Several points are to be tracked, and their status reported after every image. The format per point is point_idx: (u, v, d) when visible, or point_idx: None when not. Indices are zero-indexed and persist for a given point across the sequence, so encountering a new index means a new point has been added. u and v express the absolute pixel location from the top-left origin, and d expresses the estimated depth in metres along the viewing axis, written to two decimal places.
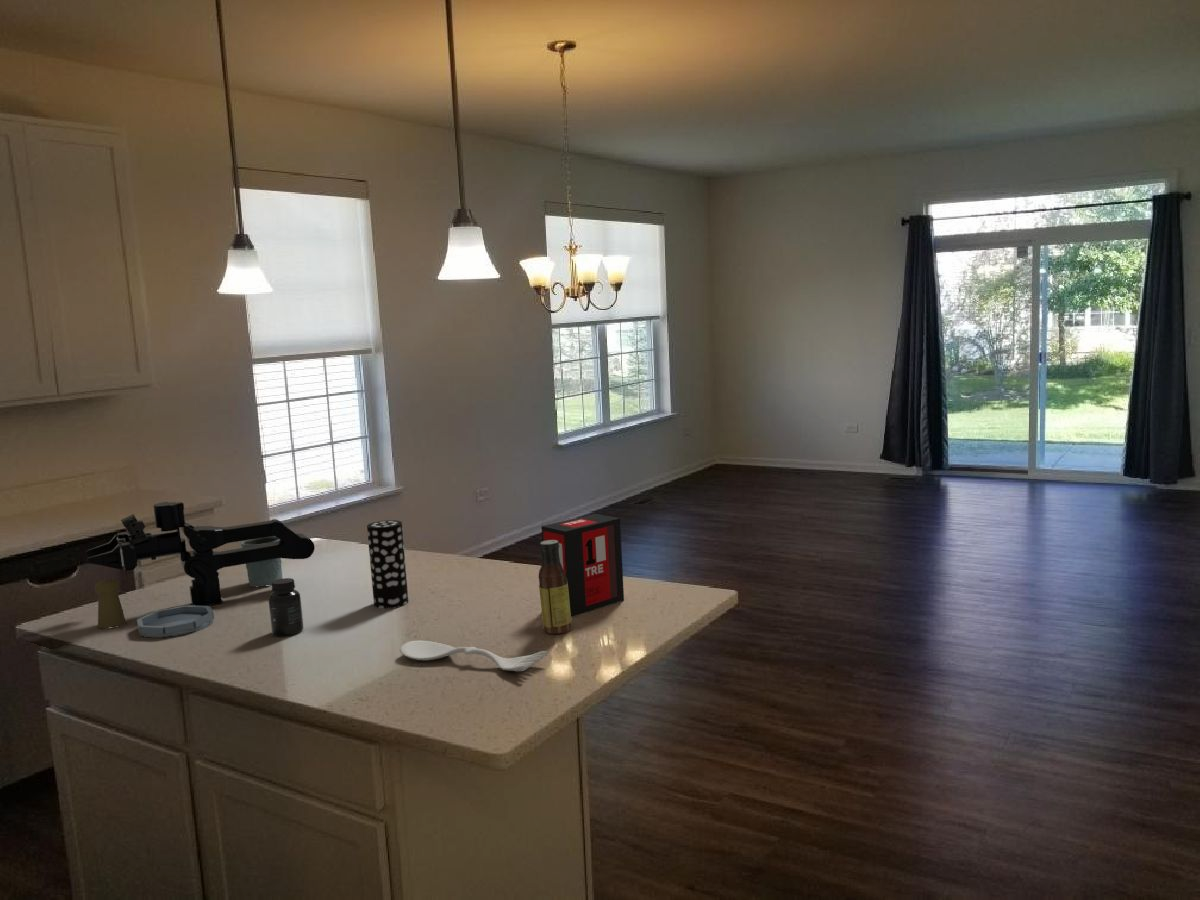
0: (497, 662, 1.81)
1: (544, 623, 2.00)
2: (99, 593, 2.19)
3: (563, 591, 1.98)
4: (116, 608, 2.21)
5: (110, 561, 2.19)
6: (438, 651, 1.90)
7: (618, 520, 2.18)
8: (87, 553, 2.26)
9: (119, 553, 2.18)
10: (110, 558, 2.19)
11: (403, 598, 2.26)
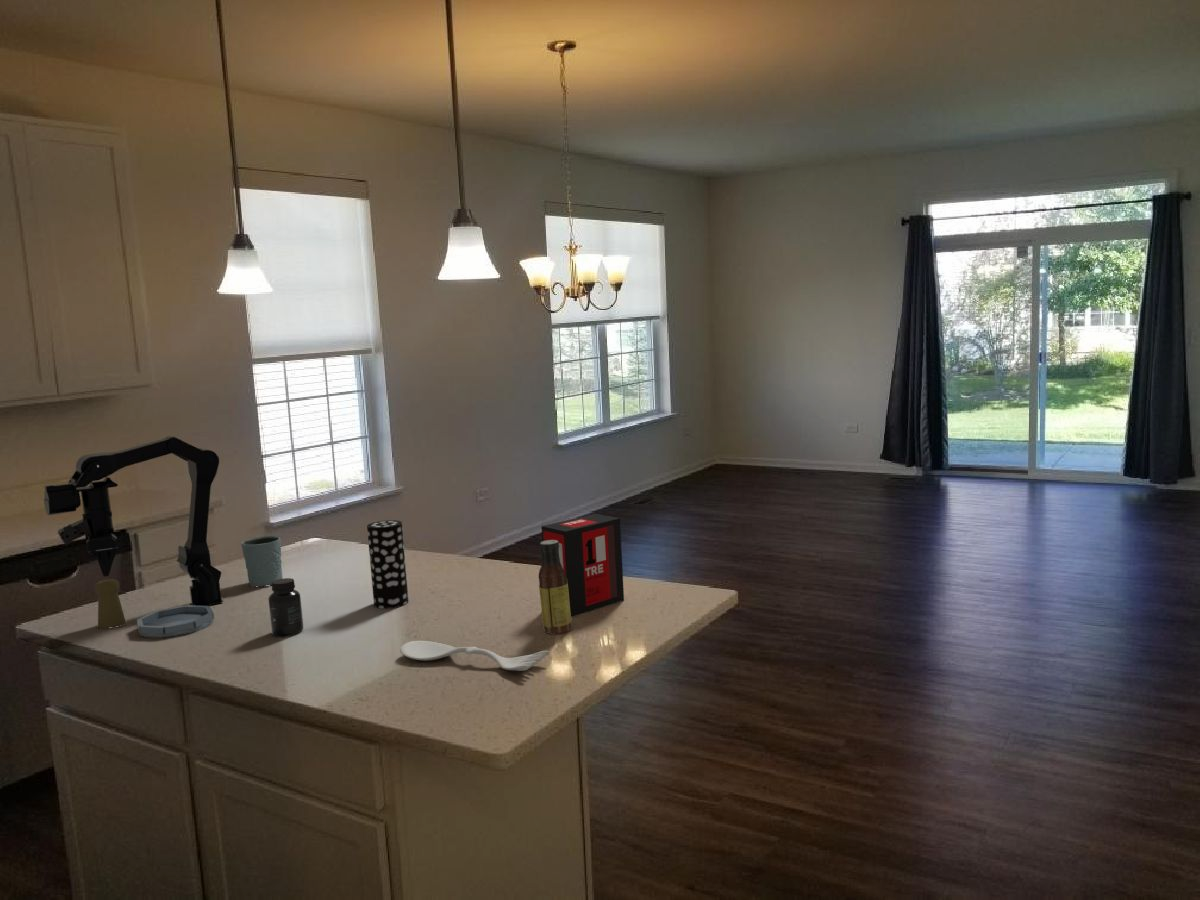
0: (498, 662, 1.81)
1: (544, 623, 2.00)
2: (99, 593, 2.19)
3: (563, 591, 1.98)
4: (116, 608, 2.21)
5: (107, 557, 2.16)
6: (438, 651, 1.90)
7: (618, 520, 2.18)
8: None
9: (97, 551, 2.12)
10: (104, 557, 2.15)
11: (403, 598, 2.26)
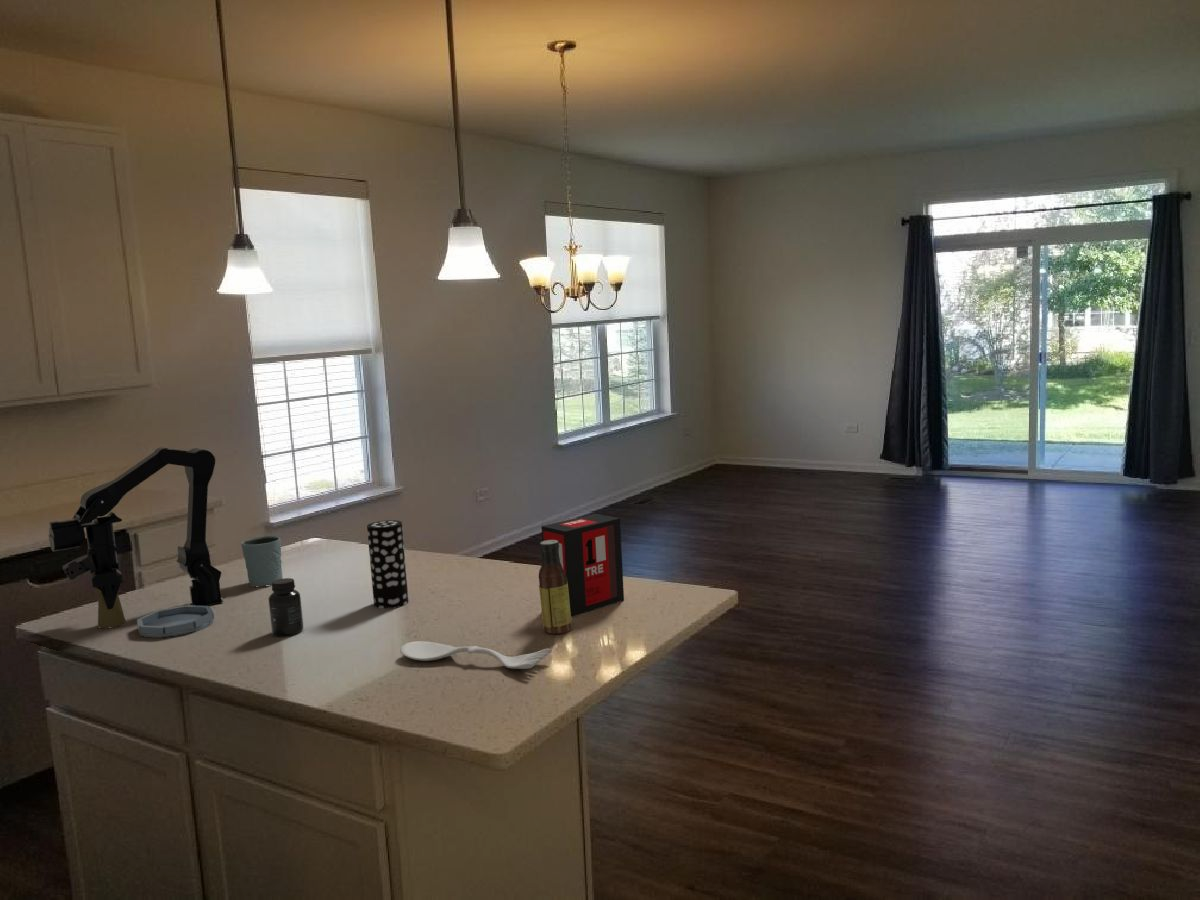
0: (501, 660, 1.81)
1: (544, 623, 2.00)
2: (99, 593, 2.19)
3: (563, 591, 1.98)
4: (116, 608, 2.21)
5: (112, 590, 2.19)
6: (439, 651, 1.90)
7: (618, 520, 2.18)
8: None
9: (101, 585, 2.15)
10: (108, 590, 2.18)
11: (403, 598, 2.26)
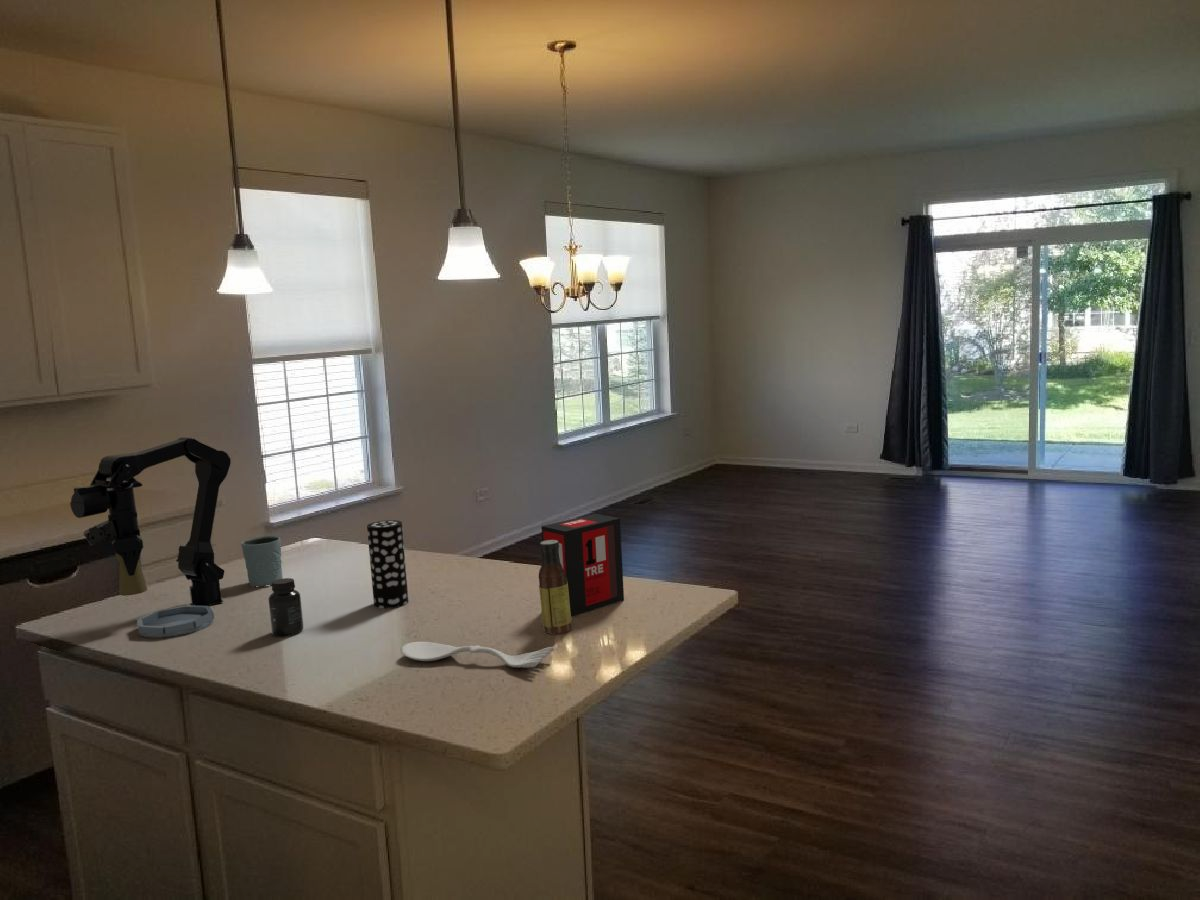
0: (504, 659, 1.82)
1: (544, 623, 2.00)
2: (120, 559, 2.16)
3: (563, 591, 1.98)
4: (137, 574, 2.18)
5: (133, 556, 2.16)
6: (440, 651, 1.90)
7: (618, 520, 2.18)
8: None
9: None
10: (129, 556, 2.16)
11: (403, 598, 2.26)
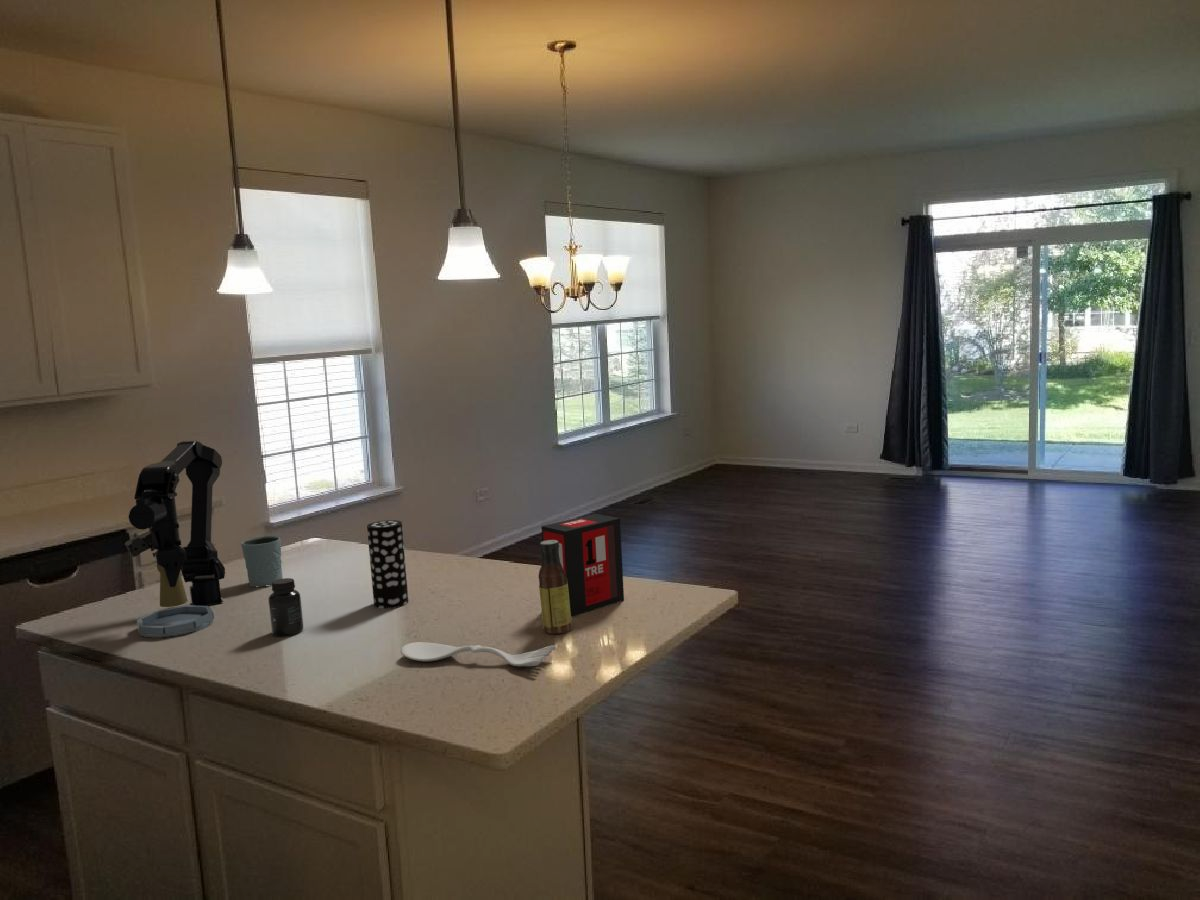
0: (506, 659, 1.82)
1: (544, 623, 2.00)
2: (161, 570, 2.14)
3: (563, 591, 1.98)
4: (178, 586, 2.16)
5: (175, 567, 2.14)
6: (440, 651, 1.89)
7: (618, 520, 2.18)
8: None
9: (165, 562, 2.11)
10: (171, 567, 2.14)
11: (403, 598, 2.26)
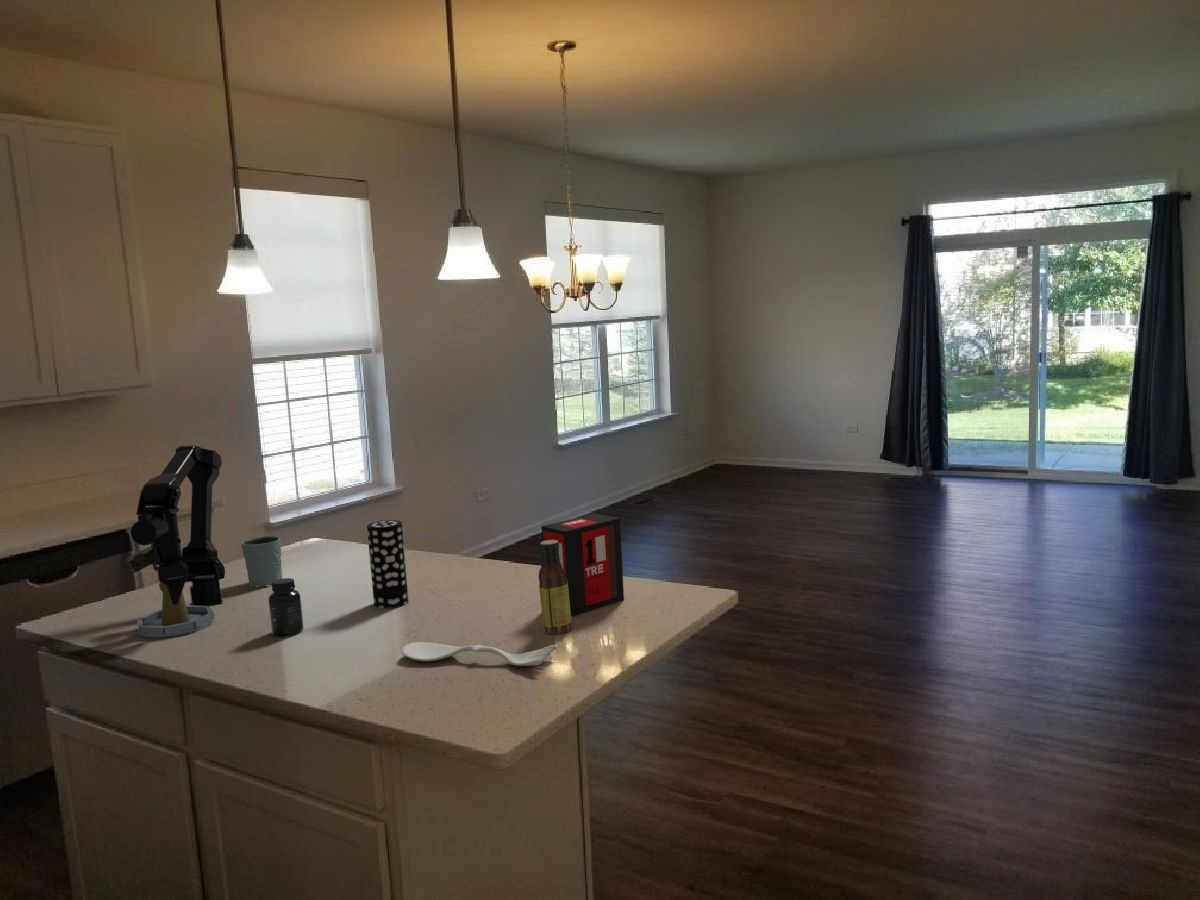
0: (507, 658, 1.82)
1: (544, 623, 2.00)
2: (164, 590, 2.15)
3: (563, 591, 1.98)
4: (180, 605, 2.17)
5: (177, 585, 2.13)
6: (441, 651, 1.89)
7: (618, 520, 2.18)
8: None
9: (168, 580, 2.09)
10: (174, 585, 2.12)
11: (403, 598, 2.26)
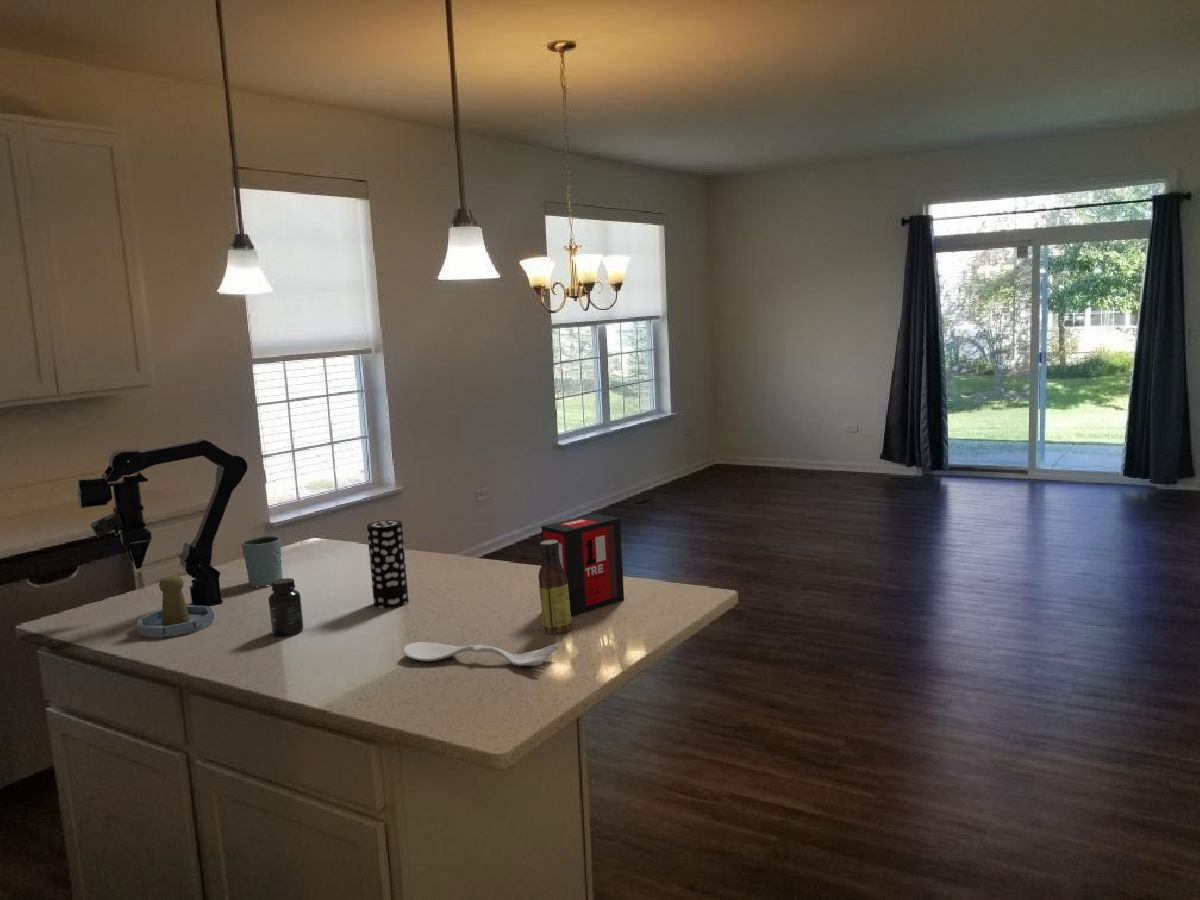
0: (508, 658, 1.82)
1: (544, 623, 2.00)
2: (164, 590, 2.15)
3: (563, 591, 1.98)
4: (180, 605, 2.17)
5: (140, 549, 2.21)
6: (442, 651, 1.89)
7: (618, 520, 2.18)
8: None
9: (131, 544, 2.18)
10: (137, 549, 2.21)
11: (403, 598, 2.26)
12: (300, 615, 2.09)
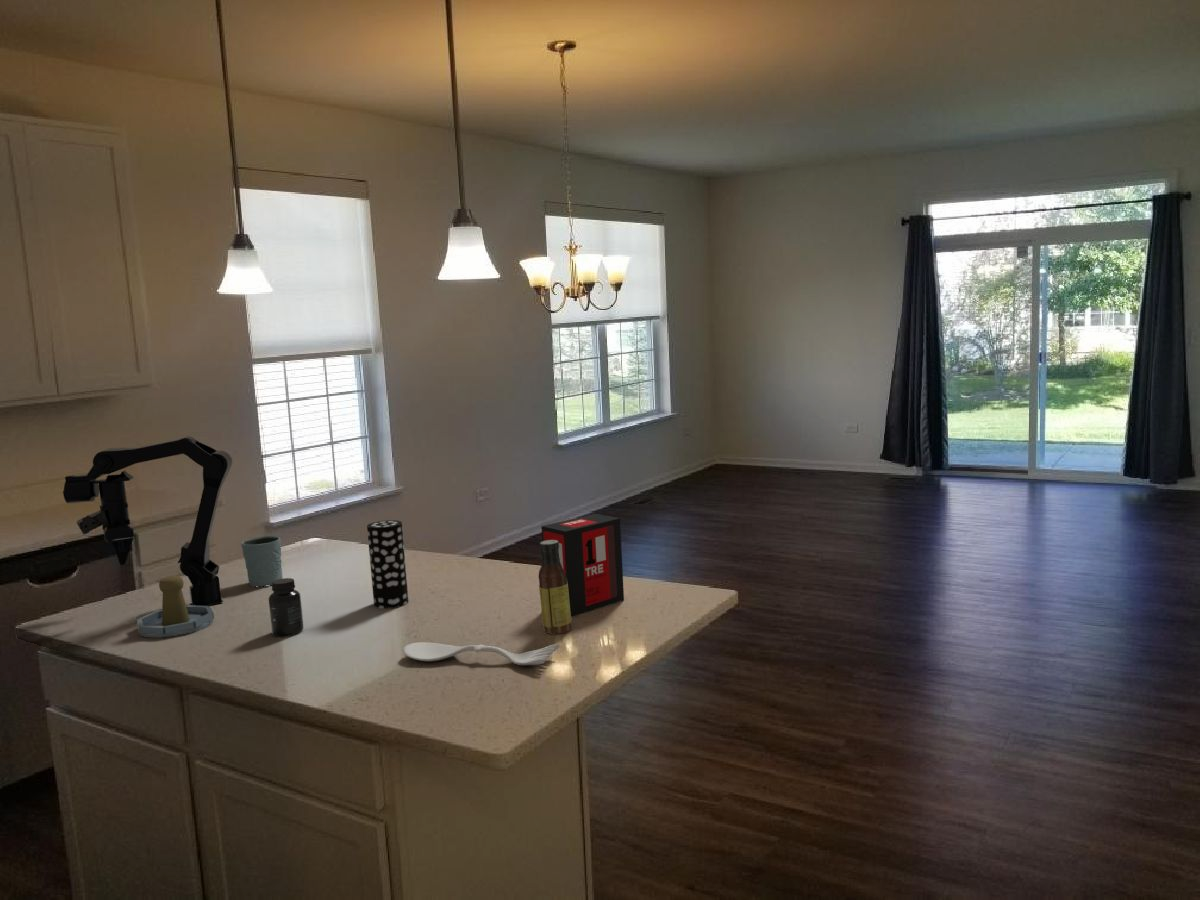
0: (510, 658, 1.83)
1: (544, 623, 2.00)
2: (164, 590, 2.15)
3: (563, 591, 1.98)
4: (180, 605, 2.17)
5: (124, 546, 2.26)
6: (442, 651, 1.89)
7: (618, 520, 2.18)
8: None
9: (114, 541, 2.23)
10: (121, 546, 2.26)
11: (403, 598, 2.26)
12: (300, 615, 2.09)
